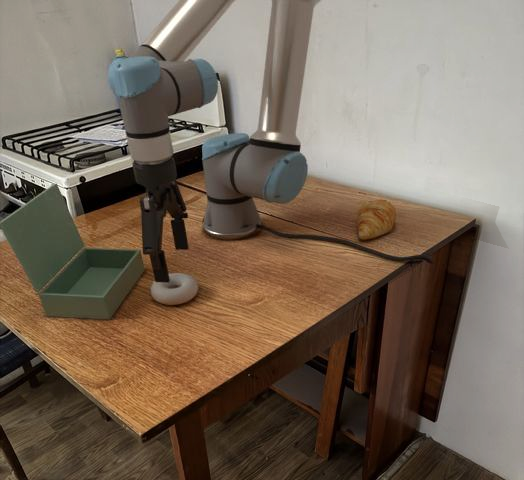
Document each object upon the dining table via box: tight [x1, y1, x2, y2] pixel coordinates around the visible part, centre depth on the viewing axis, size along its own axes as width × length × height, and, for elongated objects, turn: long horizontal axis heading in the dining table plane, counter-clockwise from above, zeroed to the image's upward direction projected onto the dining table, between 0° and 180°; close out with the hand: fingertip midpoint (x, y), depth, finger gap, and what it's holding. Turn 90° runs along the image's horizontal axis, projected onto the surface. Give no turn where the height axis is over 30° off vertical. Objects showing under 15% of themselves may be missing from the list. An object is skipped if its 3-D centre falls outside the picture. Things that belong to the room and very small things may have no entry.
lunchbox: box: [38, 247, 146, 321], centre depth 107 cm, size 14×21×5 cm, turn 171°
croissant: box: [355, 199, 397, 240], centre depth 127 cm, size 21×10×8 cm, turn 153°
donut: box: [150, 272, 199, 306], centre depth 105 cm, size 10×4×10 cm
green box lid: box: [0, 183, 86, 293], centre depth 102 cm, size 14×21×1 cm
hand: (172, 264), depth 102 cm, fingers open, 13 cm apart
